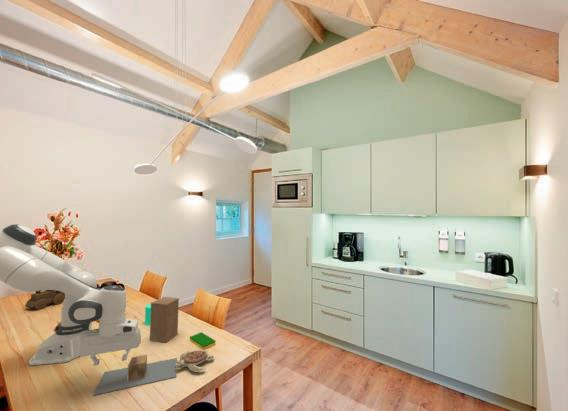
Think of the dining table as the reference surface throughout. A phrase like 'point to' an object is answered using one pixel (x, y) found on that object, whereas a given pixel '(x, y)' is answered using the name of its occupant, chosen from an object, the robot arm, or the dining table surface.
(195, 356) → the decorative turtle
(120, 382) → the mat
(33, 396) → the dining table surface
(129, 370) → the letter cube
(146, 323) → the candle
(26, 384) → the dining table surface
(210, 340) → the dish sponge
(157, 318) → the wooden block
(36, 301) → the wooden toy train
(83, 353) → the robot arm
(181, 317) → the dining table surface
